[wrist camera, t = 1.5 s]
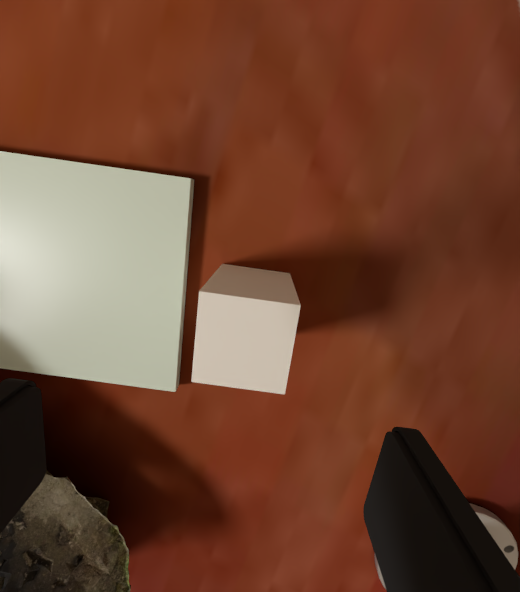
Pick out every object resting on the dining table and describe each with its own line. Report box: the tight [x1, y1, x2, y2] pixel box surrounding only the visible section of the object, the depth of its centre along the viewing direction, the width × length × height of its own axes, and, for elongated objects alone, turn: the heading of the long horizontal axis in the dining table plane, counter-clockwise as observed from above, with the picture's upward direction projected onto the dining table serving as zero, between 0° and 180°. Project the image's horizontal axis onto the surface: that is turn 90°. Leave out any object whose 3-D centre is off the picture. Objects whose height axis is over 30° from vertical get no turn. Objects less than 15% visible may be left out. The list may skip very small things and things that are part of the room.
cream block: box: [191, 264, 301, 394], centre depth 20 cm, size 5×5×8 cm
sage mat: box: [0, 151, 194, 392], centre depth 23 cm, size 16×16×1 cm
